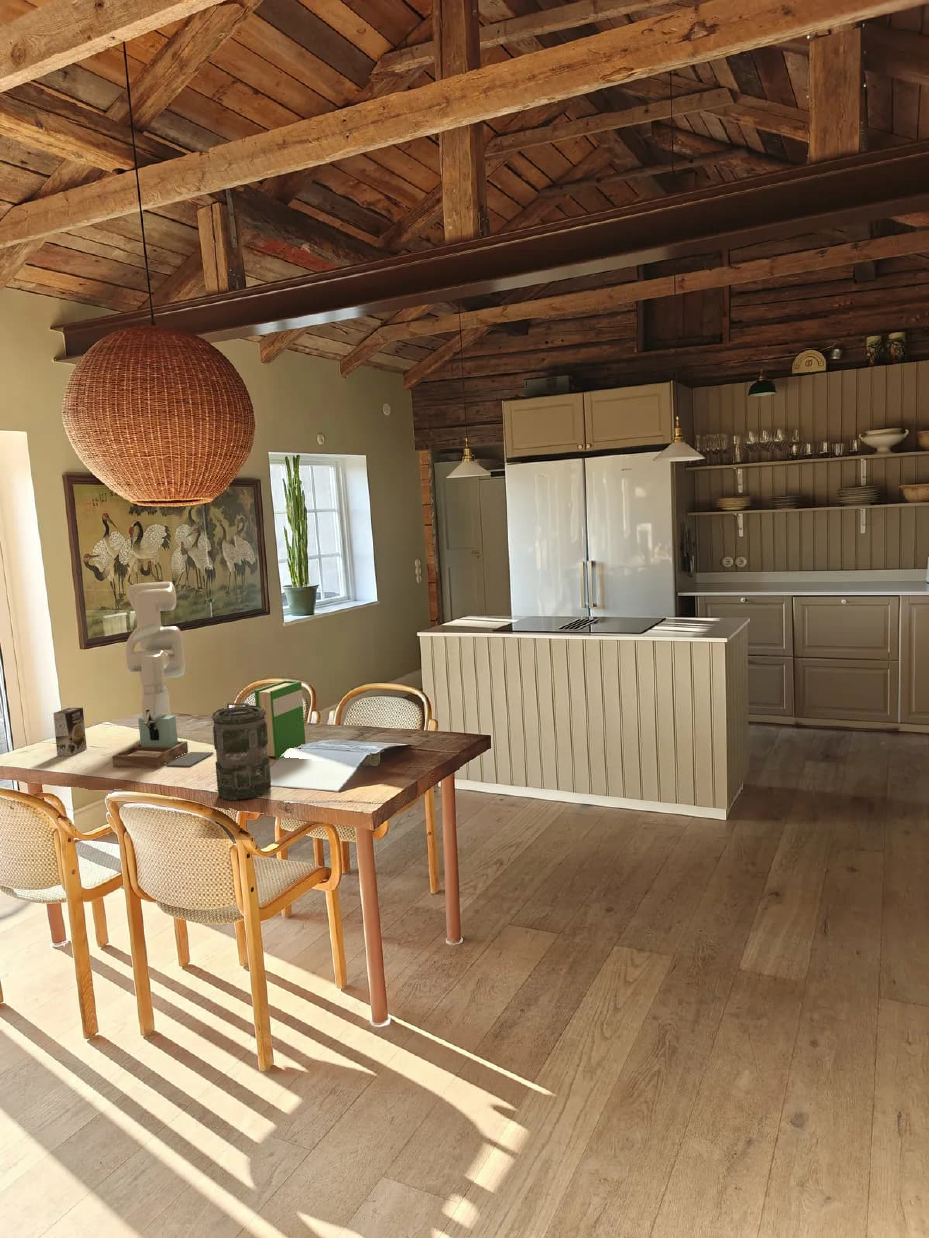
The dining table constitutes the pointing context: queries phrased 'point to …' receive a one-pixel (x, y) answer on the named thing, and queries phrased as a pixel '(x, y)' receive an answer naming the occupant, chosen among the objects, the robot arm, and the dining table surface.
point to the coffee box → (70, 731)
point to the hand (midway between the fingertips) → (158, 737)
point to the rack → (148, 761)
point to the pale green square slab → (165, 732)
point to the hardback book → (282, 715)
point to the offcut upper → (145, 753)
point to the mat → (189, 759)
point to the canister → (241, 751)
